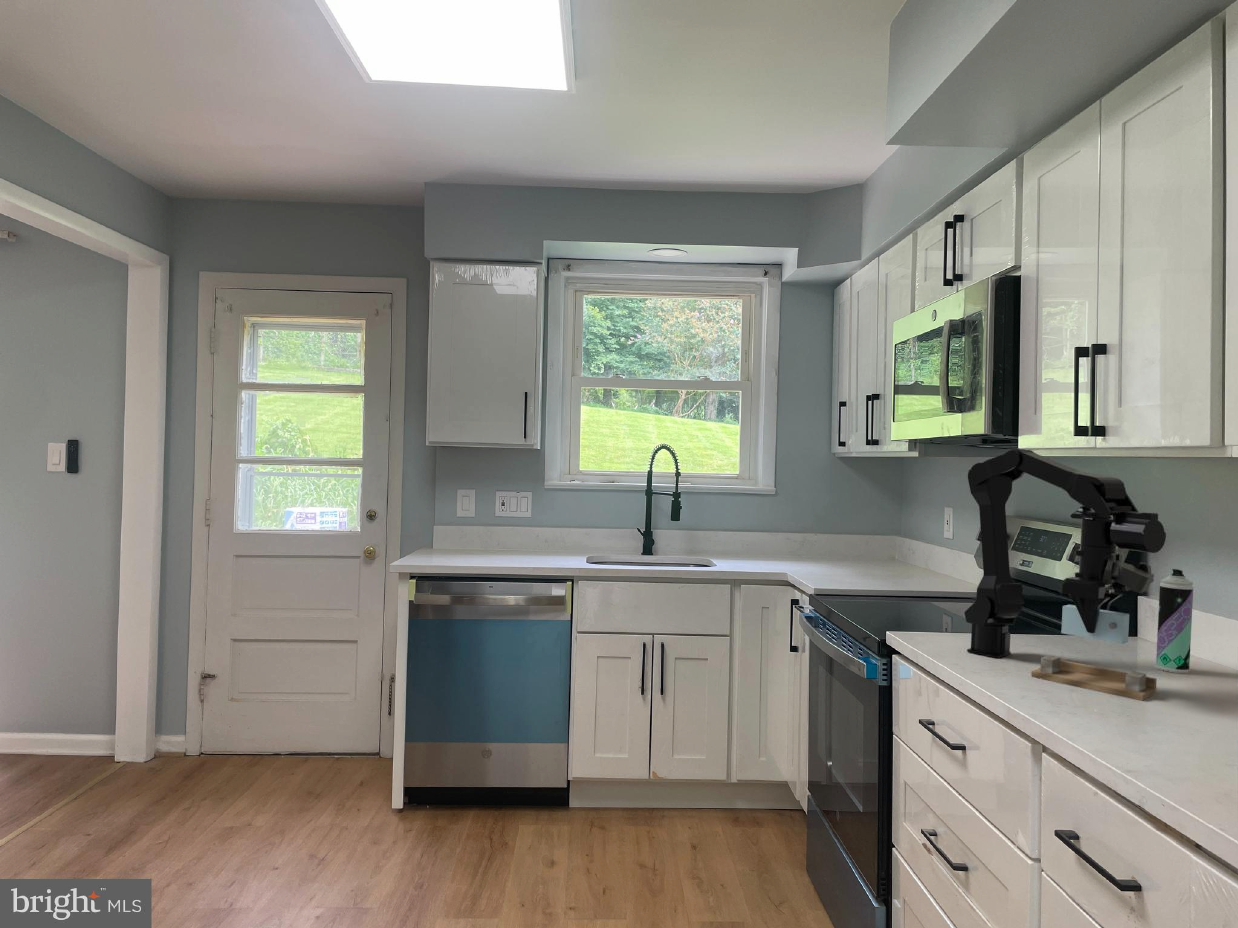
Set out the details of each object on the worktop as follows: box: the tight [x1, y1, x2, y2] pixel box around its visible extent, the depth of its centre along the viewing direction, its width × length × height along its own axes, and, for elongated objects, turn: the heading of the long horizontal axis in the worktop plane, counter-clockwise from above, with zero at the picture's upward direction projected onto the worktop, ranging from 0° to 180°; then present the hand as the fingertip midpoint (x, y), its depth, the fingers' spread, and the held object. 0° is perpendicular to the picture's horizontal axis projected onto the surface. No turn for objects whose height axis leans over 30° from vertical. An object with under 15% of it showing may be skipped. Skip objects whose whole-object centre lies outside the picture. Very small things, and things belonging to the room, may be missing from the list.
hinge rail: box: [1030, 654, 1157, 701], centre depth 148 cm, size 18×8×4 cm, turn 43°
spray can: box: [1155, 568, 1194, 674], centre depth 162 cm, size 6×6×20 cm
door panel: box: [1060, 604, 1130, 645], centre depth 148 cm, size 10×4×5 cm, turn 42°
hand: (1094, 631), depth 148 cm, fingers closed on door panel, 3 cm apart
